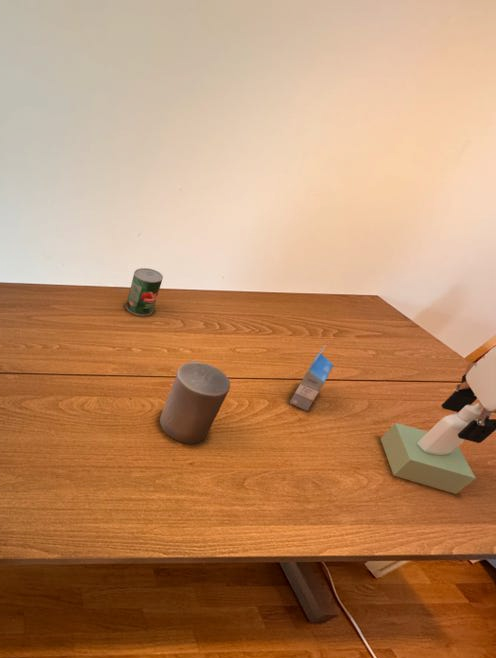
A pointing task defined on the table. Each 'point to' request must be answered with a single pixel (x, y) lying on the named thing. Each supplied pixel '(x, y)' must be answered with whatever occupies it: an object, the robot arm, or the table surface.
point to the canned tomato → (144, 291)
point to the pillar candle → (194, 402)
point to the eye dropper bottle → (449, 431)
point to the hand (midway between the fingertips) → (459, 423)
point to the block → (424, 461)
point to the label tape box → (312, 382)
